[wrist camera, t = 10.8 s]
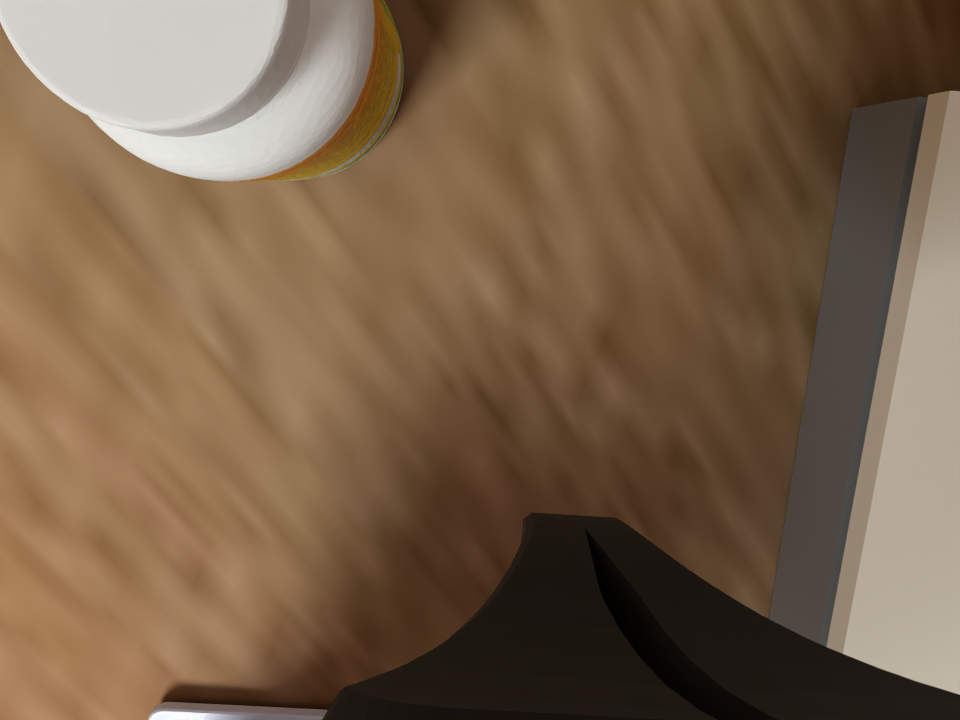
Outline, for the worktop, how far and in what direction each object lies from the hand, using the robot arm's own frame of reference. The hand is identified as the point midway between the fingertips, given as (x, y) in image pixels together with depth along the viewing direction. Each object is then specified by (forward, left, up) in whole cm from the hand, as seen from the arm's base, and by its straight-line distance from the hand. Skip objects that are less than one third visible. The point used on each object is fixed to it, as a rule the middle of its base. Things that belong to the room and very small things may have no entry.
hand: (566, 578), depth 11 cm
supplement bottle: (+8, +6, -11) cm, 15 cm away
